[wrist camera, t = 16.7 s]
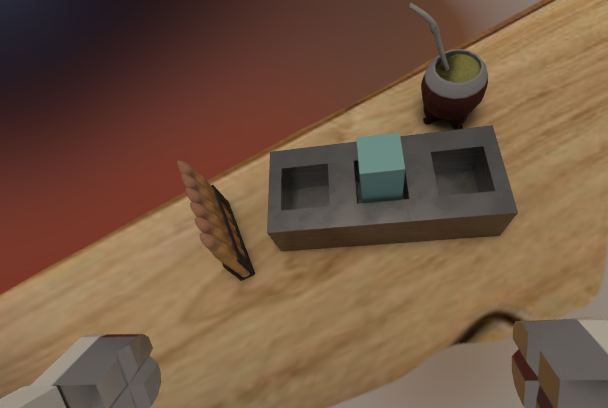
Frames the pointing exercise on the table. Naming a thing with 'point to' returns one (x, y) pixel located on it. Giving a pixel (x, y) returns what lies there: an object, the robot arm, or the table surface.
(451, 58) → the mate gourd
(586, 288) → the table surface
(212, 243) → the ammunition clip
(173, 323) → the table surface
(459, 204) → the block with square holes
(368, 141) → the square peg
